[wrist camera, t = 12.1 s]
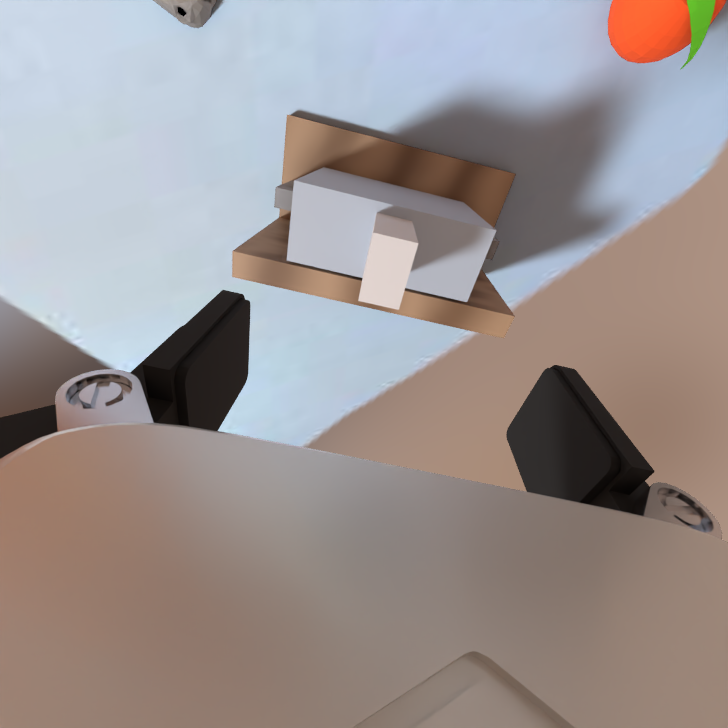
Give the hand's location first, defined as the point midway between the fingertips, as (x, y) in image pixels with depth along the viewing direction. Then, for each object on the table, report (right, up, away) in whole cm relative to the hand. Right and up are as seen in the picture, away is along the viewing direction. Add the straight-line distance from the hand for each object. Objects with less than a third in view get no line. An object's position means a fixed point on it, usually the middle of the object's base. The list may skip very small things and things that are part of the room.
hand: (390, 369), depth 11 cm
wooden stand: (+2, +16, +25) cm, 30 cm away
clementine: (+21, +28, +17) cm, 39 cm away
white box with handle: (+2, +15, +24) cm, 29 cm away
